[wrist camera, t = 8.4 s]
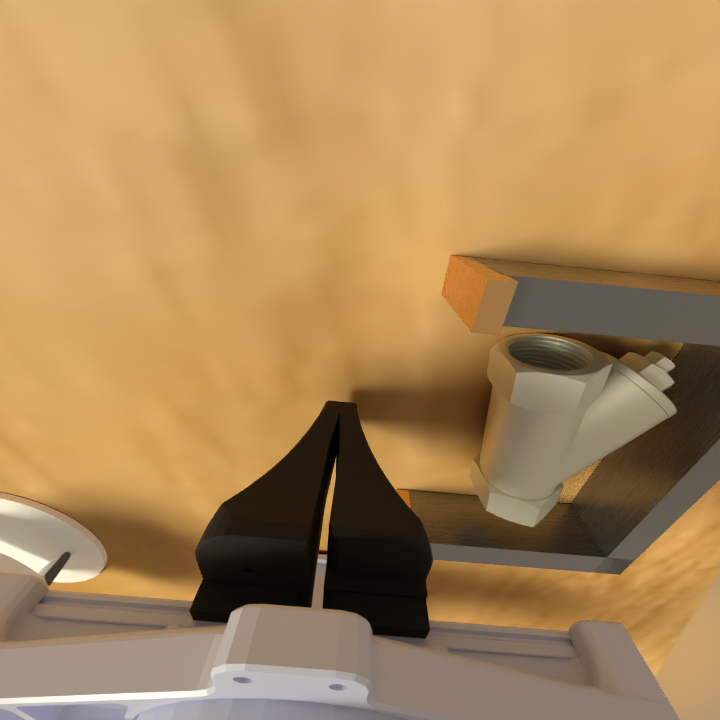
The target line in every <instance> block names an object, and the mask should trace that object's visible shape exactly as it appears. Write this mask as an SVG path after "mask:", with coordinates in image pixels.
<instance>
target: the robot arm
mask: <svg viewBox="0 0 720 720" xmlns="http://www.w3.org/2000/svg"><path fill="white" fill-rule="evenodd" d="M335 459H336V481H335V488H334V495H333V502H332V509H331V515H330V522H329V535H328V549H327V555H323V554H318V553H319V545H320V538H321V531H322V523H323V516H324V509H325V503H326V498H327V494H328V489H329V485H330V481H331V476H332V472H333V468H334V463H335ZM195 554H196V560H197V562H198V565H199V568H200V571H201V574H202V577H203V581H202V583H201V585H200V587H199V590H198V592H197V594H196V597H195V599H194V601H182V600H169V599H157V598H145V597H132V596H120V595H107V594H95V593H82V592H70V591H58V590H49V589H48V586H47V585H46V583H45V582H44V581H43V580H41V579H40V578H38V577H35V576H31V575H25V574H12V573H0V720H680V719H679V717H678V716H677V714H676V712H675V711H674V709H673V707H672V706H671V704H670V702H669V701H668V699H667V697H666V696H665V694H664V692H663V691H662V689H661V687H660V686H659V684H658V682H657V681H656V679H655V677H654V676H653V674H652V672H651V671H650V669H649V667H648V666H647V664H646V662H645V661H644V659H643V657H642V656H641V654H640V652H639V651H638V649H637V647H636V646H635V644H634V642H633V641H632V639H631V637H630V636H629V634H628V632H627V631H626V629H625V627H624V626H623V625H622V624H620V623H615V622H603V621H591V620H585V621H579V622H576V623H575V624H573V625H572V626H571V627H570V629H569V631H555V630H543V629H530V628H518V627H505V626H493V625H480V624H468V623H456V622H443V621H431V620H429V619H428V612H427V605H426V598H427V587H426V578H427V576H428V574H429V571H430V569H431V566H432V562H433V556H432V550H431V546H430V543H429V540H428V537H427V534H426V531H425V528H424V526H423V523H422V521H421V520H420V519H419V518H418V516H417V515H416V514H415V513H414V512H413V511H412V510H411V509H410V508H409V506H408V505H407V504H406V503H405V502H404V500H403V499H402V498H401V497H400V495H399V494H398V493H397V492H396V490H395V489H394V487H393V486H392V485H391V483H390V482H389V480H388V479H387V478H386V476H385V474H384V473H383V471H382V470H381V468H380V466H379V465H378V463H377V461H376V459H375V457H374V455H373V453H372V451H371V449H370V447H369V445H368V443H367V440H366V438H365V435H364V433H363V430H362V427H361V424H360V421H359V417H358V413H357V405H356V404H355V403H348V402H337V401H327V402H326V403H325V406H324V408H323V409H322V411H321V413H320V414H319V416H318V417H317V419H316V420H315V422H314V423H313V425H312V426H311V427H310V429H309V430H308V431H307V433H306V434H305V435H304V436H303V437H302V439H301V440H300V441H299V442H298V443H297V444H296V446H295V447H294V448H293V449H292V450H291V451H290V452H289V453H288V454H287V455H286V456H285V457H284V458H283V459H282V460H281V461H280V462H278V463H277V464H276V465H275V466H274V467H273V468H272V469H271V470H269V471H268V472H267V473H266V474H264V475H263V476H262V477H260V478H259V479H258V480H256V481H255V482H254V483H252V484H251V485H250V486H248V487H247V488H246V489H244V490H243V491H241V492H239V493H238V494H236V495H235V496H233V497H232V498H230V499H229V500H227V501H225V502H224V503H222V505H221V506H220V507H219V509H218V510H217V512H216V513H215V515H214V516H213V518H212V519H211V521H210V522H209V524H208V526H207V528H206V530H205V532H204V534H203V536H202V538H201V540H200V542H199V544H198V546H197V548H196V551H195Z"/></svg>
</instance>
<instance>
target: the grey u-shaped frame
mask: <svg viewBox="0 0 720 720" xmlns="http://www.w3.org/2000/svg"><path fill="white" fill-rule="evenodd" d="M442 295H443V297H444V298H445V299H446V300H447V302H448V303H449V304H450V306H451V307H452V308H453V309H454V311H455V312H456V313H457V314H458V316H459V317H460V318H461V319H462V321H463V322H464V323H465V325H466V326H467V327H468V328H469V330H470V331H471V332H474V333H485V334H495V335H500V332H501V329H502V326H512V327H523V328H533V329H544V330H554V331H565V332H576V333H586V334H597V335H608V336H618V337H629V338H639V339H650V340H661V341H671V342H682V343H686V344H685V345H684V346H683V348H682V349H681V351H680V352H679V353H678V355H677V356H676V358H675V359H674V360H673V363H674V364H675V366H676V367H675V368H674V369H673V370H671V371H670V372H668V373H667V374H668V375H669V376H670V377H671V378H672V379H673V381H674V382H675V383H674V384H673V385H672V386H671V387H669V388H668V389H666V390H665V391H663V393H664V394H665V395H666V396H667V397H668V398H669V399H670V400H671V401H672V403H673V404H674V405H675V407H676V409H677V413H676V414H674V415H672V416H671V417H669V418H667V419H666V420H664V421H662V422H661V423H659V424H657V425H656V426H654V427H653V428H651V429H649V430H648V431H646V432H644V433H643V434H641V435H639V436H638V437H636V438H635V439H633V440H631V441H630V442H628V443H626V444H625V445H623V446H621V447H620V448H618V449H616V450H615V451H613V452H612V453H610V454H608V455H607V456H605V457H604V458H603V460H602V461H601V463H600V464H599V465H598V467H597V468H596V470H595V471H594V472H593V474H592V475H591V477H590V478H589V479H588V481H587V482H586V484H585V485H584V486H583V488H582V489H581V491H580V492H579V493H578V495H577V496H576V498H575V499H574V500H573V502H572V503H571V504H565V503H556V504H555V506H554V507H553V508H552V509H551V510H550V511H549V513H548V514H547V515H546V516H545V517H544V518H543V519H542V520H541V521H540V522H539V523H538V524H537V525H535V526H534V527H530V526H525V525H521V524H518V523H514V522H511V521H508V520H506V519H503V518H501V517H498V516H496V515H494V514H492V513H490V512H488V511H486V509H485V508H484V506H483V504H482V503H481V501H480V499H479V497H478V496H470V495H459V494H447V493H435V492H423V491H411V490H399V489H397V491H396V492H397V493H398V494H399V495H400V497H401V498H402V499H403V500H404V502H405V503H406V504H407V505H408V506H409V508H410V509H411V510H412V511H413V512H414V513H415V514H416V515H417V516H418V518H419V519H420V520H421V521H422V523H423V526H424V528H425V531H426V534H427V537H428V540H429V543H430V546H431V550H432V556H433V559H434V560H446V561H459V562H471V563H483V564H496V565H508V566H521V567H533V568H545V569H558V570H570V571H583V572H595V573H607V574H621V573H622V572H623V571H624V570H625V569H626V568H627V567H628V566H629V565H630V564H631V563H632V562H633V561H634V560H635V559H637V558H638V557H639V556H640V555H641V554H642V553H643V552H644V551H645V550H646V549H647V548H648V547H649V546H650V545H651V544H652V543H653V542H654V541H655V540H656V539H658V538H659V537H660V536H661V535H662V534H663V533H664V532H665V531H666V530H667V529H668V528H669V527H670V526H671V525H672V524H673V523H674V522H675V521H676V520H677V519H679V518H680V517H681V516H682V515H683V514H684V513H685V512H686V511H687V510H688V509H689V508H690V507H691V506H692V505H693V504H694V503H695V502H696V501H697V500H698V499H700V498H701V497H702V496H703V495H704V494H705V493H706V492H707V491H708V490H709V489H710V488H711V487H712V486H713V485H714V484H715V483H716V482H717V481H718V480H719V479H720V281H710V280H699V279H689V278H679V277H669V276H658V275H648V274H638V273H628V272H618V271H607V270H597V269H587V268H577V267H566V266H556V265H546V264H536V263H525V262H515V261H505V260H495V259H485V258H474V257H464V256H454V255H451V257H450V261H449V266H448V270H447V274H446V279H445V283H444V287H443V292H442Z"/></svg>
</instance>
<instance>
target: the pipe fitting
mask: <svg viewBox="0 0 720 720" xmlns="http://www.w3.org/2000/svg"><path fill="white" fill-rule="evenodd" d="M675 367H676V366H675V364H674V363H673V362H672V361H671V360H669V359H668V358H667V357H665V356H664V355H662V354H660V353H657V352H654V351H652V352H651V353H649V354H648V355H646V356H645V357H643V356H641V355H639V354H636V353H632V352H628V353H627V354H625V355H624V356H623V357H621V358H620V359H617V358H615V357H613V356H611V355H609V354H607V353H604V352H600V351H598V350H596V349H595V348H593V347H591V346H589V345H587V344H585V343H583V342H580V341H577V340H574V339H571V338H567V337H562V336H557V335H551V334H542V333H524V334H516V335H512V336H509V337H506V338H504V339H503V340H501V341H499V342H498V343H496V344H495V345H494V346H493V347H491V351H490V357H489V363H488V369H487V377H488V378H489V380H490V382H491V384H492V385H493V387H492V392H491V398H490V403H489V409H488V414H487V420H486V426H485V431H484V437H483V442H482V448H481V452H480V453H479V454H478V455H477V456H476V457H475V458H473V461H472V467H471V473H470V477H471V480H472V483H473V486H474V488H475V490H476V493H477V495H478V497H479V499H480V501H481V503H482V504H483V506H484V508H485V509H486V511H488V512H490V513H492V514H494V515H496V516H498V517H501V518H503V519H506V520H508V521H511V522H514V523H518V524H521V525H525V526H530V527H534V526H535V525H537V524H538V523H539V522H540V521H541V520H542V519H543V518H544V517H545V516H546V515H547V514H548V513H549V511H550V510H551V509H552V508H553V507H554V506H555V504H556V503H557V501H558V498H559V496H560V493H561V491H562V488H563V486H564V485H563V484H562V482H564V481H565V480H567V479H569V478H570V477H572V476H574V475H575V474H577V473H579V472H580V471H582V470H584V469H585V468H587V467H589V466H590V465H592V464H593V463H595V462H597V461H598V460H600V459H602V458H603V457H605V456H607V455H608V454H610V453H612V452H613V451H615V450H616V449H618V448H620V447H621V446H623V445H625V444H626V443H628V442H630V441H631V440H633V439H635V438H636V437H638V436H639V435H641V434H643V433H644V432H646V431H648V430H649V429H651V428H653V427H654V426H656V425H657V424H659V423H661V422H662V421H664V420H666V419H667V418H669V417H671V416H672V415H674V414H676V413H677V409H676V407H675V405H674V404H673V403H672V401H671V400H670V399H669V398H668V397H667V396H666V395H665V394H664V393H663V391H665V390H666V389H668V388H669V387H671V386H672V385H673V384H674V383H675V382H674V381H673V379H672V378H671V377H670V376H669V375H668V374H667V373H668V372H670V371H671V370H673V369H674V368H675Z"/></svg>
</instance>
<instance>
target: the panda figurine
mask: <svg viewBox="0 0 720 720" xmlns="http://www.w3.org/2000/svg"><path fill="white" fill-rule="evenodd" d="M106 563H107V553H106V550H105V548H104V546H103V545H102V543H101V542H100V541H99V540H98V538H97V537H96V536H95V535H94V534H93V533H91V532H90V531H89V530H88V529H87V528H85V527H84V526H83V525H81V524H80V523H78V522H77V521H75V520H73V519H72V518H70V517H68V516H67V515H65V514H63V513H61V512H59V511H57V510H54V509H52V508H50V507H48V506H45V505H43V504H40V503H37V502H35V501H32V500H29V499H26V498H22V497H18V496H15V495H10V494H6V493H0V573H12V574H25V575H31V576H35V577H38V578H40V579H41V580H43V581H44V582H45V583H46V585H47V586H48V587H49V586H50V584H51V583H52V582H80V581H85V580H88V579H91V578H93V577H95V576H97V575H98V574H99V573H100V572H101V571H102V570H103V568H104V567H105V565H106Z"/></svg>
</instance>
